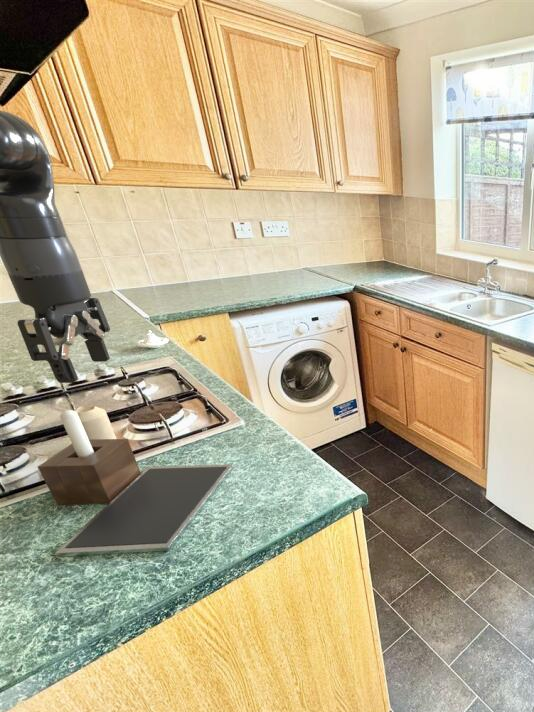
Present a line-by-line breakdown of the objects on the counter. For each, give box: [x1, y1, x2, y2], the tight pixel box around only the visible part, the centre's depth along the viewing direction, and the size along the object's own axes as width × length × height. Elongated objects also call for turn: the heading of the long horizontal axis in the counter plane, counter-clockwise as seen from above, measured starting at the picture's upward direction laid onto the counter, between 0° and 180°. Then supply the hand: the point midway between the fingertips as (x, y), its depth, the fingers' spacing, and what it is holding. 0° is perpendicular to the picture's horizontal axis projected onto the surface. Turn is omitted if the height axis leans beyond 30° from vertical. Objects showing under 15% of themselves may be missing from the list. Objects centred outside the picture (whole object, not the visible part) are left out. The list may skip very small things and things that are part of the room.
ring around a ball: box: [136, 330, 169, 349], centre depth 134 cm, size 8×6×8 cm
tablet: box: [54, 463, 235, 558], centre depth 71 cm, size 15×21×1 cm
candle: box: [74, 404, 118, 440], centre depth 82 cm, size 6×6×10 cm
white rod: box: [59, 409, 94, 458], centre depth 71 cm, size 2×2×16 cm
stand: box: [37, 438, 142, 507], centre depth 73 cm, size 8×8×8 cm
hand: (86, 370), depth 68 cm, fingers open, 8 cm apart
